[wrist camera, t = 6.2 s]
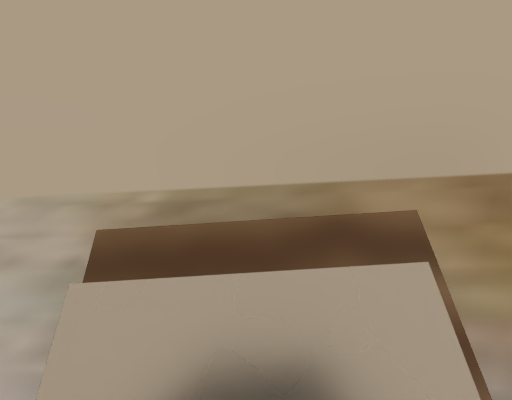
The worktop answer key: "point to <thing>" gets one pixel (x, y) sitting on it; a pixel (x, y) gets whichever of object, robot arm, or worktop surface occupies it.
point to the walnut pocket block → (273, 252)
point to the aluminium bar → (260, 338)
